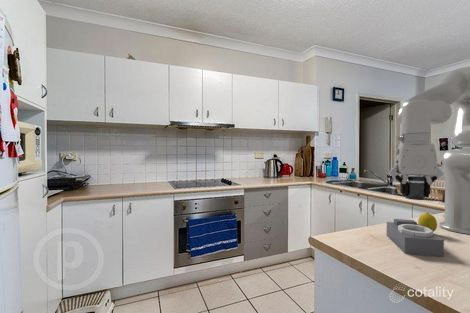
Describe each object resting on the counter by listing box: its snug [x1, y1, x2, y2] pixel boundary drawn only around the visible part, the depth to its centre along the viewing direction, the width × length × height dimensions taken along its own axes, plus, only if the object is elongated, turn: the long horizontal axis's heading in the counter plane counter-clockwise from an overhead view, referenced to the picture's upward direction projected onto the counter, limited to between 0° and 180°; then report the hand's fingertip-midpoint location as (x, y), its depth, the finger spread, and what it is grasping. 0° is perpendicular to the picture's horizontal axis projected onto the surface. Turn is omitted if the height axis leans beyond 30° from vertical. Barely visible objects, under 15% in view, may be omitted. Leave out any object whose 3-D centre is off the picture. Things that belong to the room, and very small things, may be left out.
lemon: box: [417, 212, 438, 233], centre depth 89 cm, size 6×6×8 cm
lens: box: [404, 175, 426, 201], centre depth 77 cm, size 5×5×7 cm
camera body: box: [386, 218, 445, 258], centre depth 79 cm, size 16×10×6 cm, turn 165°
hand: (414, 195), depth 77 cm, fingers closed on lens, 5 cm apart
